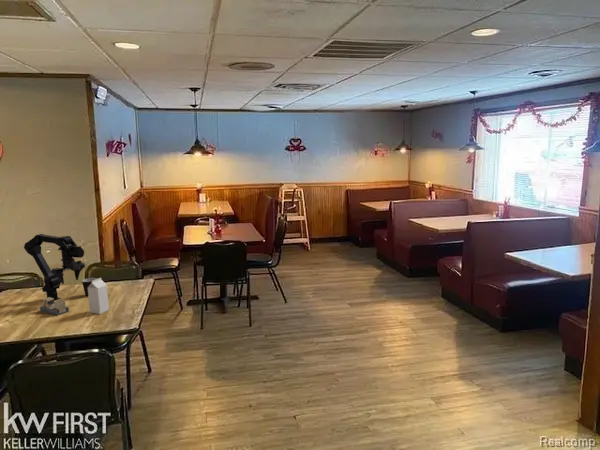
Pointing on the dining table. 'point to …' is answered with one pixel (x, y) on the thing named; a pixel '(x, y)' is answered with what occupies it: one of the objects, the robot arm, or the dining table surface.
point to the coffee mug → (87, 285)
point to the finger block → (48, 303)
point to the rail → (52, 311)
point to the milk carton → (98, 296)
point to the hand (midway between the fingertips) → (70, 281)
